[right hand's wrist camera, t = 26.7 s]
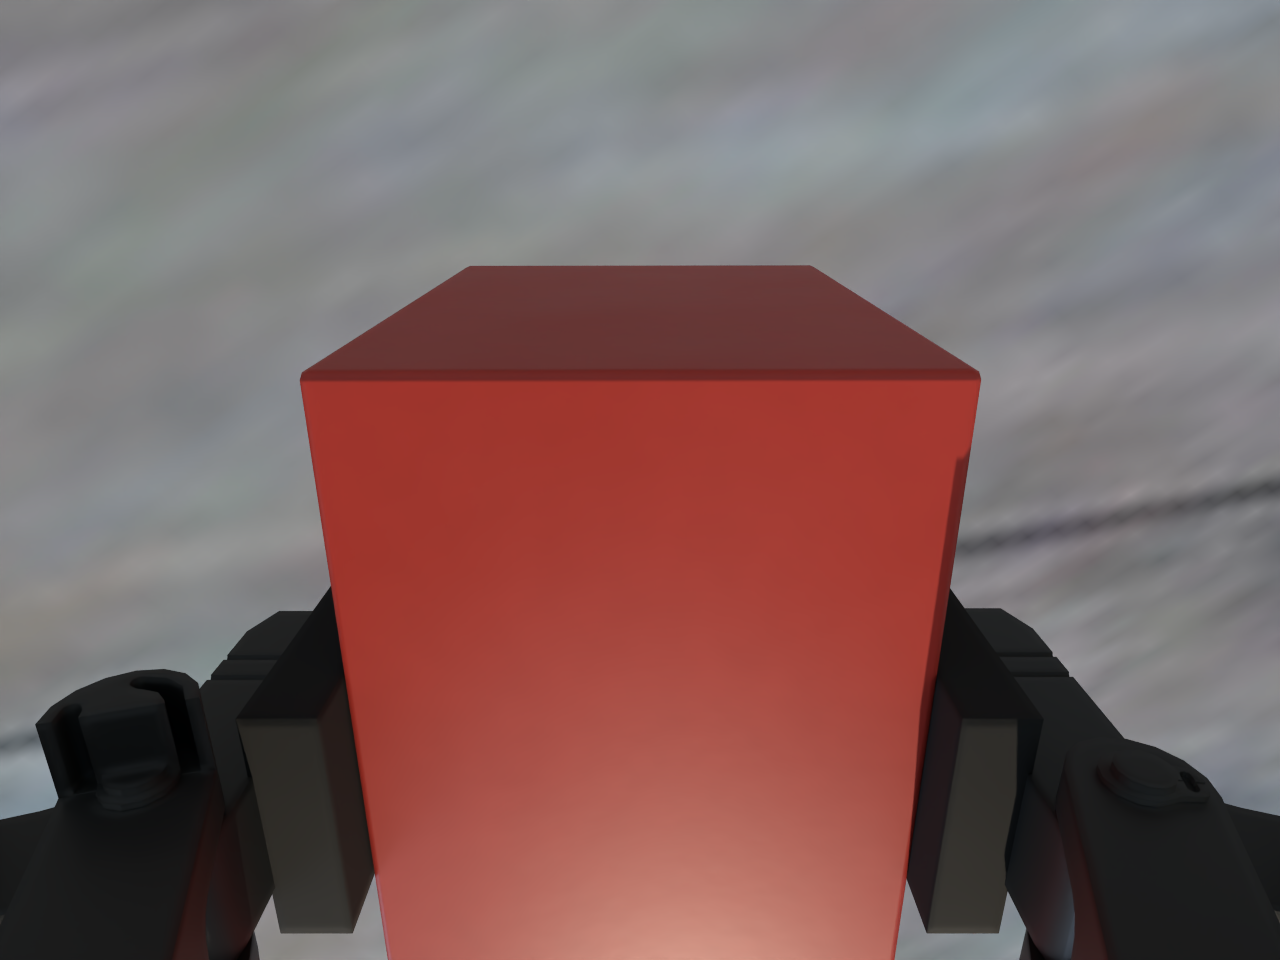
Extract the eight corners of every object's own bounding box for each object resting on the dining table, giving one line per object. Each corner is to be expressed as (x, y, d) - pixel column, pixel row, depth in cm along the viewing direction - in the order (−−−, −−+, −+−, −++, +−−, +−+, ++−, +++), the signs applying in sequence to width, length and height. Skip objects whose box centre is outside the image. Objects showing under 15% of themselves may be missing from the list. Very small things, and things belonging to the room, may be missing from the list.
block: (783, 701, 18) (880, 1072, 10) (498, 702, 18) (401, 1073, 10) (814, 265, 14) (988, 371, 7) (465, 265, 14) (294, 371, 7)
